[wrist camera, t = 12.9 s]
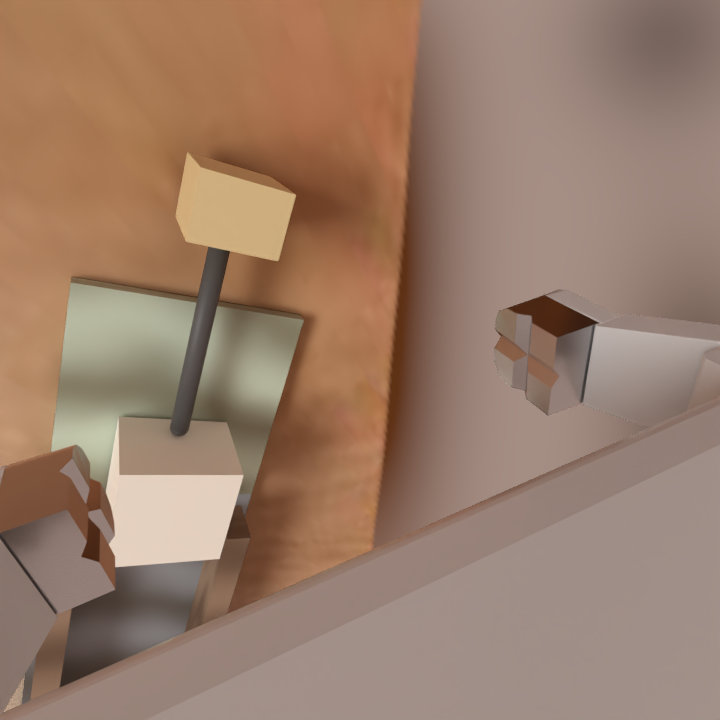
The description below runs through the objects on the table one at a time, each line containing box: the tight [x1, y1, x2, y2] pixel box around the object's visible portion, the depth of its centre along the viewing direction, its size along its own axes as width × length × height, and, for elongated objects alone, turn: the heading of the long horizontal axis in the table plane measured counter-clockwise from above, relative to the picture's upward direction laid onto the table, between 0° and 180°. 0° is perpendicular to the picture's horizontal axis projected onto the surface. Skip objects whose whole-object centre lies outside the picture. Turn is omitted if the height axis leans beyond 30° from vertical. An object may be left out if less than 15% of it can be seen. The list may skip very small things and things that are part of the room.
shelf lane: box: [22, 277, 304, 704], centre depth 32 cm, size 33×12×4 cm, turn 161°
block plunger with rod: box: [106, 152, 296, 567], centre depth 26 cm, size 20×6×5 cm, turn 161°
